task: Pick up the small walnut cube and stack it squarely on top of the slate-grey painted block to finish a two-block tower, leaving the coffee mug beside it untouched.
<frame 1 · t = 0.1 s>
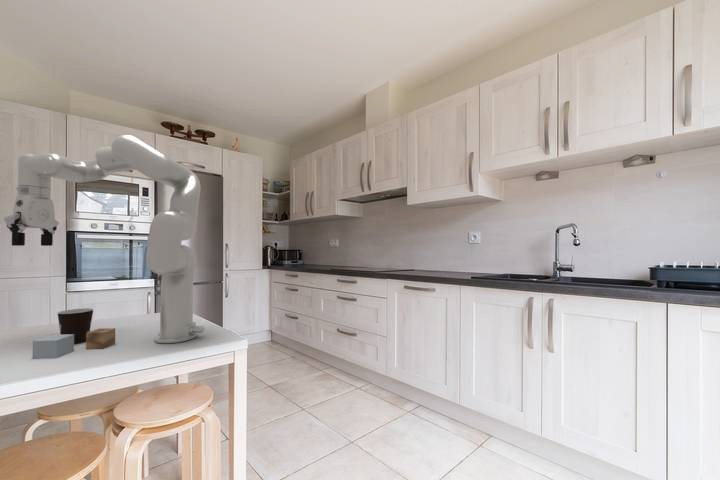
hand: (33, 245, 101), 31 cm above the table, tool pointing down, fingers open, 9 cm apart
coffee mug: (77, 341, 102), on the table
walnut block: (100, 346, 96), on the table
slate block: (53, 355, 89), on the table
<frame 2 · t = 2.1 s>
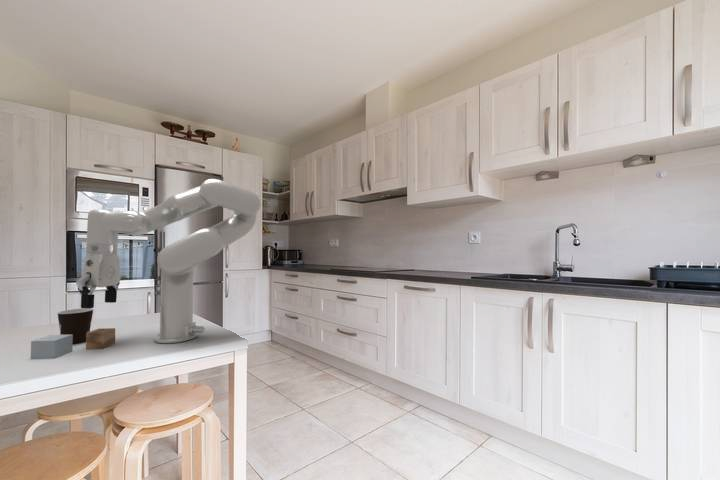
hand: (99, 305, 96), 13 cm above the table, tool pointing down, fingers open, 9 cm apart
nothing on the table moved.
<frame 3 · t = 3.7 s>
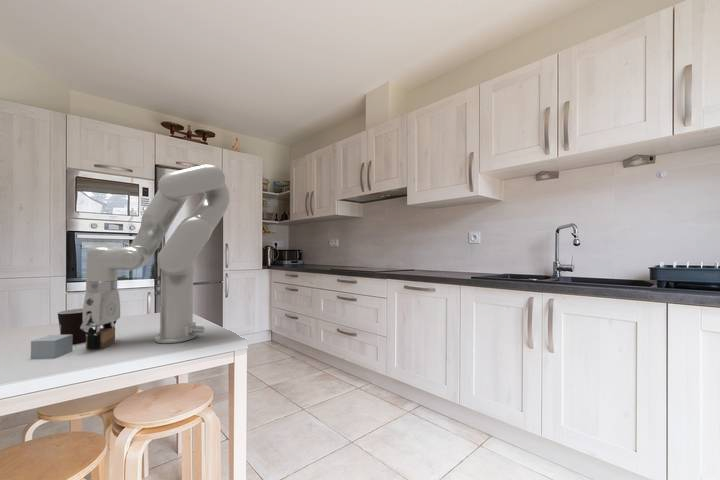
hand: (100, 344, 96), 0 cm above the table, tool pointing down, fingers closed on walnut block, 5 cm apart
walnut block: (100, 346, 96), on the table, touching gripper
everything else where it was.
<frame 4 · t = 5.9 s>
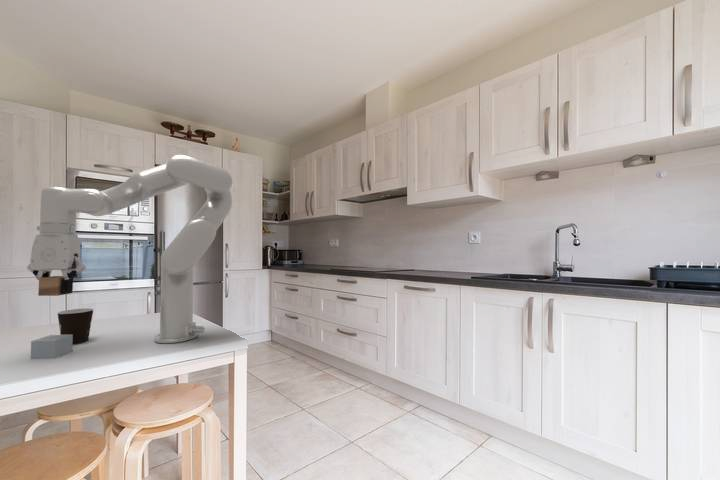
hand: (55, 292, 89), 18 cm above the table, tool pointing down, fingers closed on walnut block, 5 cm apart
walnut block: (55, 294, 90), point 17 cm above the table, touching gripper
everything else where it was.
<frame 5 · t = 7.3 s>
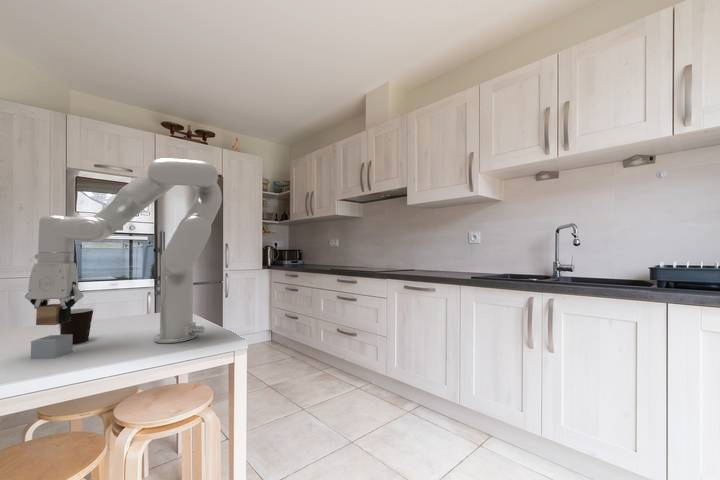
hand: (53, 321, 89), 9 cm above the table, tool pointing down, fingers closed on walnut block, 5 cm apart
walnut block: (53, 322, 89), point 9 cm above the table, touching gripper
everything else where it was.
when the fingers open (6 cm above the table, at t = 8.3 s): walnut block stays where it is, resting on slate block.
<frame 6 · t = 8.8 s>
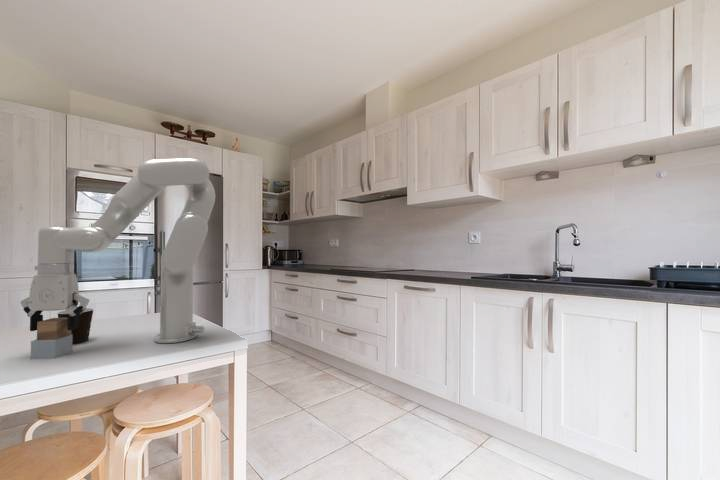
hand: (54, 329, 89), 7 cm above the table, tool pointing down, fingers open, 9 cm apart
walnut block: (54, 337, 89), point 5 cm above the table, touching slate block
slate block: (52, 355, 89), on the table, touching walnut block
everything else where it was.
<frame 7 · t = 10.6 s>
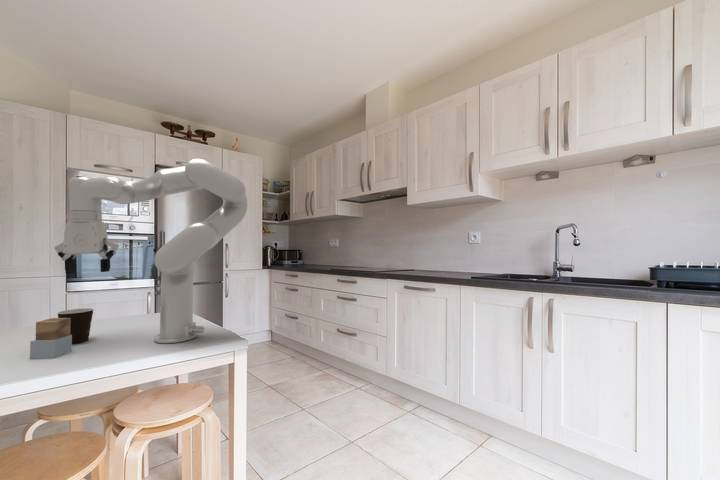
hand: (88, 272, 97), 23 cm above the table, tool pointing down, fingers open, 9 cm apart
nothing on the table moved.
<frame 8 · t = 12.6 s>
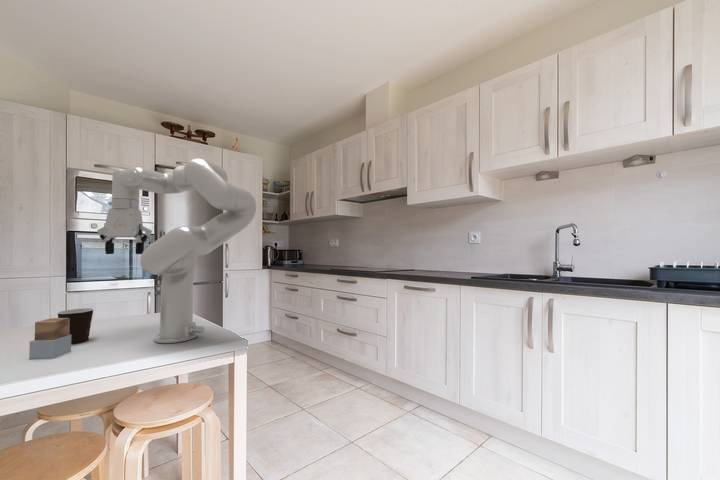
hand: (124, 254, 109), 28 cm above the table, tool pointing down, fingers open, 9 cm apart
nothing on the table moved.
at the end: walnut block 0.3 cm off-centre on the slate block, point 5.0 cm above the slate block's base; walnut block tilted 0°; slate block moved 0.7 cm from its start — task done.
